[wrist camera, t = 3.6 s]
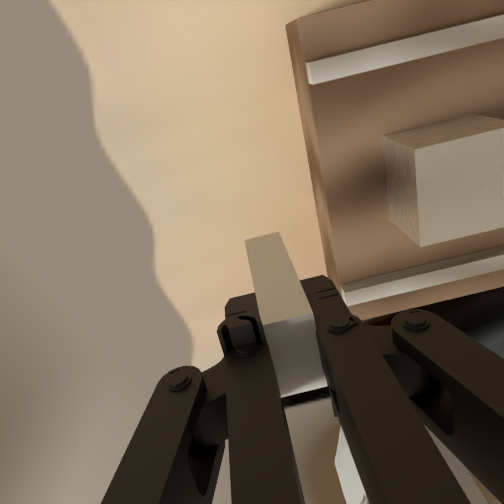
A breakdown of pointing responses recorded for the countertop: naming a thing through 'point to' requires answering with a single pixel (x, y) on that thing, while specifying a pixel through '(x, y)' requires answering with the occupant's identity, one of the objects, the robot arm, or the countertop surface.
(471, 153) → the white squarish block
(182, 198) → the countertop surface
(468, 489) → the supplement box
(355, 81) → the slot board
